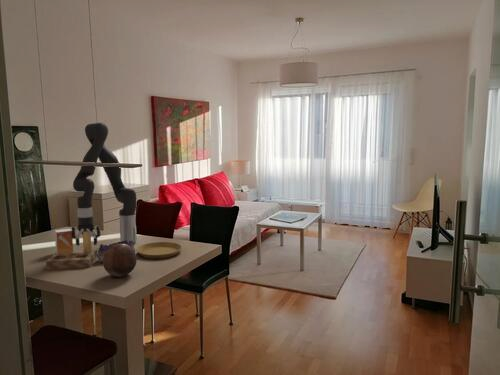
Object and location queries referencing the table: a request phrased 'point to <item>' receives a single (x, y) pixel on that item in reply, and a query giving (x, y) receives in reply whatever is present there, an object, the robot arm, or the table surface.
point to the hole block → (70, 260)
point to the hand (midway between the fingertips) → (86, 245)
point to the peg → (87, 242)
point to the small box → (64, 241)
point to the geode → (104, 247)
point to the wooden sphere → (119, 260)
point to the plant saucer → (159, 249)
